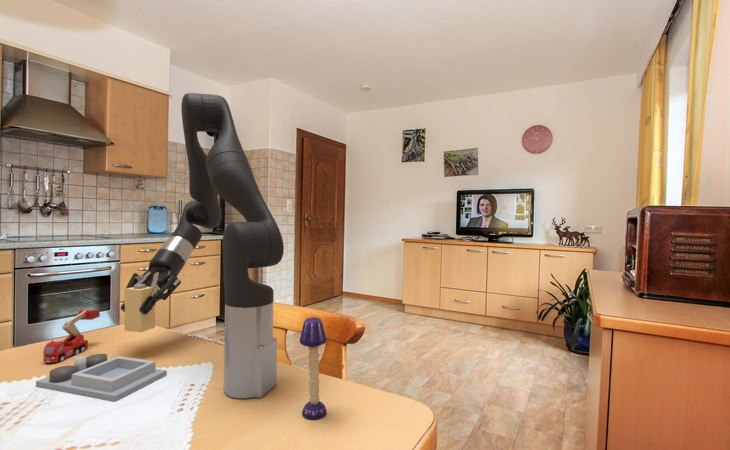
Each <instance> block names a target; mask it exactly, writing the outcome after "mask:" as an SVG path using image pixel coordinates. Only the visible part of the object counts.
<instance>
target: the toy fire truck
mask: <svg viewBox="0 0 730 450" xmlns="http://www.w3.org/2000/svg"><path fill="white" fill-rule="evenodd" d="M99 317H101V315H100V309H80V310H79V311H78V314H77V315H75V316H74V317H73V318H71V319H69V320H65V322H64V324H63V325H62V327H61V329H63V330H64V331H65V332H66V333H67V334H68V336H67V337H66V338H64V339H63V341H62V340H60V341H54V340H51V341H49V342H48V343H46V344H45V346H44V349H43V353H42V354H43V357H42V359H43V360H42V361H43V363H48V364H50V363H51V364H54V363H58V362H59V363H61V362H64V361H65V359H67V358H69V357H71V356H73V355H75V356H76V355H78V354H79V353H84V351H86V350H87V349H88V348H89V340H88V339H85V337H84V334H81V332H80V330H79V329H78V328H77V326H76V324H75V323H77V322H79V321H80V320H85V321H86V320H89V321H91V320H92V321H93V320H95V319H97V318H99Z"/></svg>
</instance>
